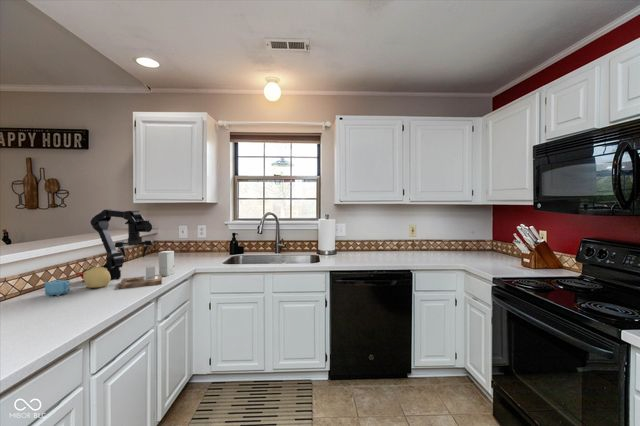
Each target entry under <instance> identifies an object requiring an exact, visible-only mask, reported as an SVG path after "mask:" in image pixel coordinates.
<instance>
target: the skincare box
mask: <svg viewBox="0 0 640 426" xmlns="http://www.w3.org/2000/svg"><path fill="white" fill-rule="evenodd" d="M175 270H176V268H175V251H174V250H165V251H160V252H158V275H162V277H168V276H171V275H174V274H175V273H176V272H175Z"/></svg>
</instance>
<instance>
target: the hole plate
mask: <svg viewBox="0 0 640 426" xmlns="http://www.w3.org/2000/svg"><path fill="white" fill-rule="evenodd" d="M162 280H163V276H162V275H159V274H158V275H156V274H155V279H146V275H145V276H137V277H128V278H122V279H121V281H120V283H119V285H118V288H119V290H120V289H130V288H139V287H146V286H157V285H158V286H159V285H162V284H163V283H162Z"/></svg>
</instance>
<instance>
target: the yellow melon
mask: <svg viewBox="0 0 640 426" xmlns="http://www.w3.org/2000/svg"><path fill="white" fill-rule="evenodd" d="M83 278H84V279H83V280H84V282H83V283H84V284H85V286H86V287H88V288H92V289H93V288H94V289H95V288H104V287H105V286H106V287H107V286H108V285H109V284H110V282H111V280H110V279H111V275H110V273H109V271H108V270H107V268H104V267H103V266H102V267H101V266H95V267H94V268H92V269H90V270H88V271H85V272H84V273H83Z"/></svg>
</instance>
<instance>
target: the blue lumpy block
mask: <svg viewBox="0 0 640 426" xmlns="http://www.w3.org/2000/svg"><path fill="white" fill-rule="evenodd" d="M43 284H44V295H45V296H49V297H52V296H56V297H60V296H61V295H66V294H67V293H69V292H70V291H71V290H70V289H71V287H70V280H60V279H55V280H53V281H50V282H47V281H43Z"/></svg>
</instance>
